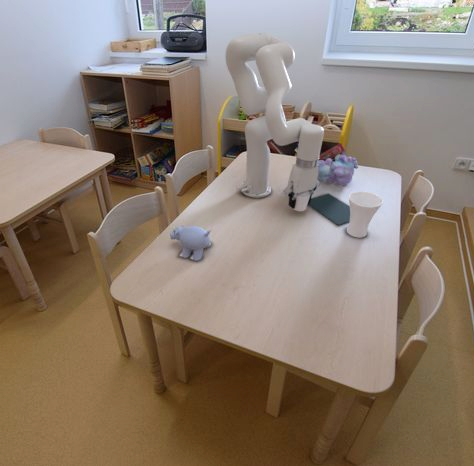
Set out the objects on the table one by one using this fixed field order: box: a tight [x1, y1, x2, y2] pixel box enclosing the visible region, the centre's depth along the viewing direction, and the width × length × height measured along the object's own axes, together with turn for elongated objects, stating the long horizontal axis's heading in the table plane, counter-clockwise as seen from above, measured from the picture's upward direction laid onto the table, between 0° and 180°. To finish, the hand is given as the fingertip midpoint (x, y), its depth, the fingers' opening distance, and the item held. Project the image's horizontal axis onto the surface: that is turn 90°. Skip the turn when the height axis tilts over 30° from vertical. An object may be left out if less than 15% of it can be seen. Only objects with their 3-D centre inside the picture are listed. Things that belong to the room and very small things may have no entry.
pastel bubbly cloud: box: [317, 142, 359, 187], centre depth 146 cm, size 20×22×18 cm
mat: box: [307, 193, 350, 226], centre depth 129 cm, size 13×20×1 cm, turn 24°
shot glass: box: [292, 190, 311, 212], centre depth 125 cm, size 7×7×7 cm
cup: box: [346, 191, 384, 238], centre depth 112 cm, size 10×10×14 cm
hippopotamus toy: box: [169, 224, 213, 262], centre depth 110 cm, size 11×15×10 cm
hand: (299, 204), depth 126 cm, fingers closed on shot glass, 6 cm apart
